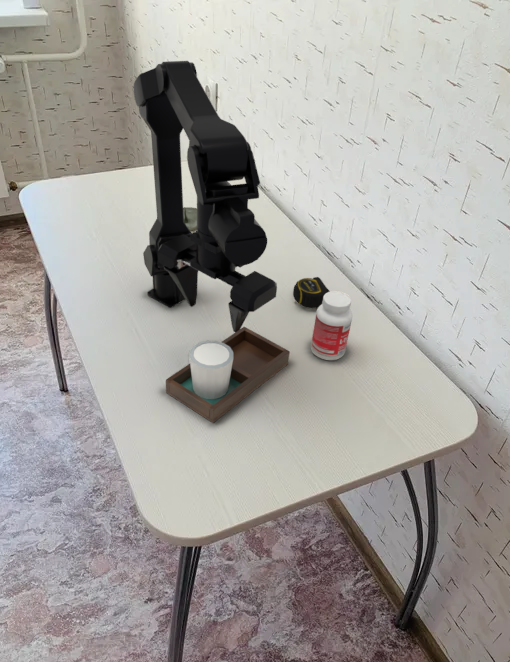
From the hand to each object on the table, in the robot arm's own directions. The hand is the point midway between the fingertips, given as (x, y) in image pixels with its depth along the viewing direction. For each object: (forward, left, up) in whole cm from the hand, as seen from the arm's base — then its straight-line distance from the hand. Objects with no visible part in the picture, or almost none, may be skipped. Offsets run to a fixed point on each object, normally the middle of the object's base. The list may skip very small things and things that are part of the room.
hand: (214, 317), depth 96 cm
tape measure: (0, +29, -12) cm, 32 cm away
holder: (+3, +1, -11) cm, 12 cm away
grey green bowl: (-38, +33, -11) cm, 52 cm away
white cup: (+3, -4, -11) cm, 12 cm away
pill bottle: (+11, +18, -12) cm, 24 cm away
